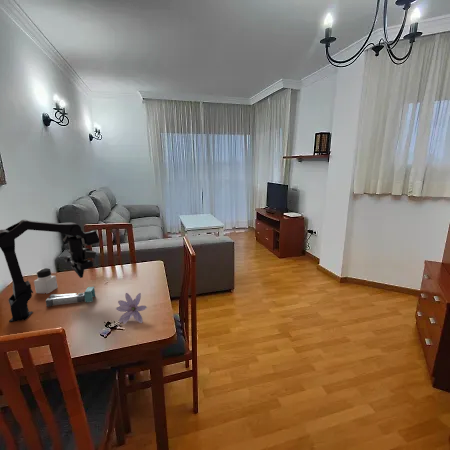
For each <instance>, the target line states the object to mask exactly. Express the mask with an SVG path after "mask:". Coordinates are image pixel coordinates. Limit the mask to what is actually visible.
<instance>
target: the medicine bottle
mask: <svg viewBox="0 0 450 450" xmlns="http://www.w3.org/2000/svg"><path fill="white" fill-rule="evenodd" d="M36 275H37V279H35V280H33V284H34V289H35V293H36V294H45V293H46V294H48V295H49V294H50V293H51V292H53V291H55V290H56V289H58V287H59V286H58V281H57V275H52V272H51V269H50V268H49V267H48V268H47V267H46V268H41V269H38V270H37V271H36ZM46 294H45V295H46Z"/></svg>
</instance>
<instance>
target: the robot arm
mask: <svg viewBox="0 0 450 450" xmlns="http://www.w3.org/2000/svg"><path fill="white" fill-rule="evenodd" d="M26 231H39V232H41V231H42V232H53V233H54V232H55V233H60V234H63V235H65V237H64V238H62V241H63V242H65V243H67V244H68V248H69V250H68V254H70V255H67V256H65V257H64V258H63V259H64V263H66V264H68V263H69V262H70V263H71V264H70V265H69V266H70V267H71V269H73V270H74V272H75V273H76V275H77V276H78V277H79V278H80V279H81V278H84V273H85V270H86V269H89V268H93V267H94V266H95V265H94V262H93V261H92V260H90V259H96V257H97V256H96V255H97V252H96V251H94V250H91V249H90V248H88V247H87V246H92V245H97V244H99V243H100V237H99V235H98V233H97V230H91V231H87V232H85V231H83V230H82V227H81V225H79V224H78V223H75V222H61V223H59V222H58V223H57V222H48V221H47V222H46V221H37V220H28V219H21V220H20V221H18V222H17V223H15V224H12V225H10V226H8V227H7V228H5V229H0V249H1V251H2V254H3V255H4V258H5V261H6V264H7V267H8V270H9V271H8V272H9V274H10V278H11V280H12V294H11V296H10V297H9V298H8V299H7V300H8V304H9V307H10V313H11V316H12V317H11V318H10V319H9V320H8V322H9V323H12V322H22V321H26V320H27V319H29V317H30V316H32V314H33V310H31V311H29V306H28V302H29V300H30V299H31V298H32V297H33V294H34V291H33V289H32V286H31V283H30V281H29V280H26V281H25V279H24V277H23V273H22V271H21V267H20V263H19V260H18V257H17V253H16V240H17V238H18V237H20V236H21V235H23V234H24V233H25V232H26ZM83 245H85V246H86V247H85V248H84V247H83Z"/></svg>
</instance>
